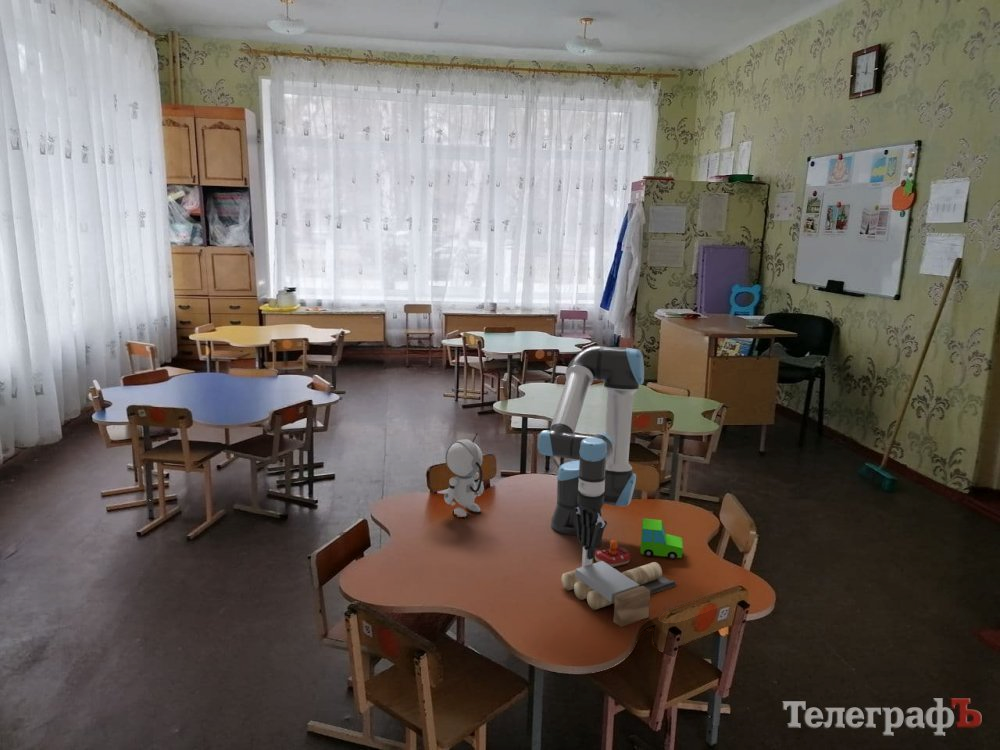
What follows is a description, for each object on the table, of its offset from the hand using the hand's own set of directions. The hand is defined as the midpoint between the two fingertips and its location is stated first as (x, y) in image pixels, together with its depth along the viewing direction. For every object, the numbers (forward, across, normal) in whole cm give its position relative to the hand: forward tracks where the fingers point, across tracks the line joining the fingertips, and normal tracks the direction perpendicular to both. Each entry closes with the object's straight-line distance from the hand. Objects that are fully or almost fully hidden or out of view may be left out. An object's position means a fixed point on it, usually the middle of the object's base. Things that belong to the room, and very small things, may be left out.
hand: (587, 567), depth 208 cm
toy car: (+7, -5, +35) cm, 36 cm away
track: (+7, +8, +9) cm, 14 cm away
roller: (+6, +6, +16) cm, 18 cm away
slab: (+1, +9, 0) cm, 9 cm away
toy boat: (+7, -8, +17) cm, 20 cm away
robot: (+7, -64, -5) cm, 65 cm away
